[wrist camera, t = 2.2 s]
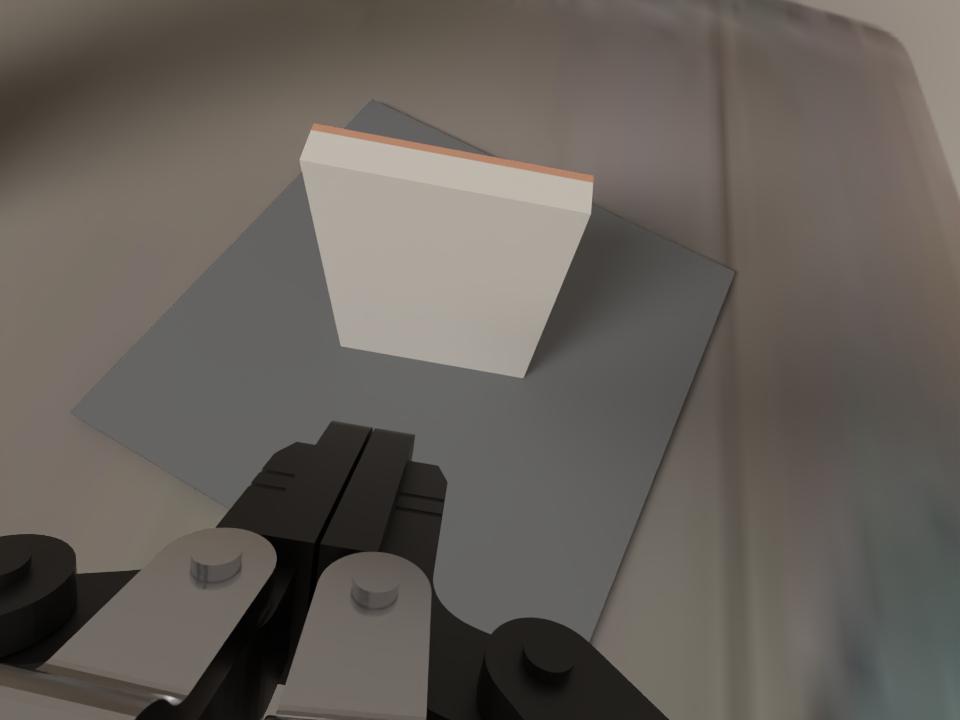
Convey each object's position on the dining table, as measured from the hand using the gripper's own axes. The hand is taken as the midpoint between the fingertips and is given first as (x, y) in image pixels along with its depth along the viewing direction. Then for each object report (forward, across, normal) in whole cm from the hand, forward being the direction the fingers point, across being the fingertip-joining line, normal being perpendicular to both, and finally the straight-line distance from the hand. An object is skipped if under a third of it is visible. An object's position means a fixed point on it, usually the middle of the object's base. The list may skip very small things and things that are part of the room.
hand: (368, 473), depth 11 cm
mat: (+19, 0, +3) cm, 19 cm away
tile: (+18, 0, +3) cm, 18 cm away
